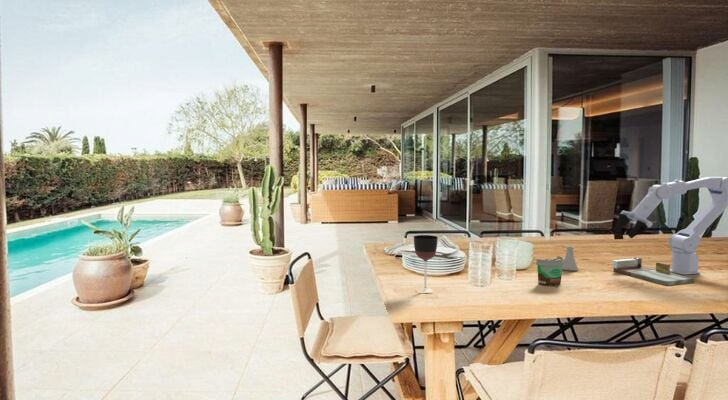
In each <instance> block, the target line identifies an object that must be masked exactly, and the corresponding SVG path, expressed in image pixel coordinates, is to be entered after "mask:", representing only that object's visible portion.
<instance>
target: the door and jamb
mask: <svg viewBox="0 0 728 400" xmlns="http://www.w3.org/2000/svg"><path fill="white" fill-rule="evenodd" d="M670 269H671V263H665V262H661V261H656V262H655V268H651V267H647V266H644V265H643V266H641V267H626V268H613V272H615V271H616V272H615V273H618V272H619V274H622V273H623V274H622V275H626V276H630V277H633V276H634V278H637V277H638V278H637V279H640V278H641V280H644V279H645V281H648V280H649V281H648V282H652V281H653V282H652V283H655V282H656V284H659V283H660V285H663V286H673V285H682V284H683V285H684V284H690V283H694V278H693V277H689V276H685V275H682V274H678V273H674V272H670Z"/></svg>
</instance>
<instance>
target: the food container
mask: <svg viewBox="0 0 728 400" xmlns="http://www.w3.org/2000/svg"><path fill="white" fill-rule="evenodd" d="M535 264H536V265H537V281H538V282H537V283H538V285H539V286H544V287H559V286H561V282H562V275H563V269H562V267H563V265H564V264H565V263H564V257H562V256H559V255H557V257H556V258H547V259H539V258H537V260H536V261H535Z"/></svg>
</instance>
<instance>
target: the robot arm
mask: <svg viewBox="0 0 728 400" xmlns="http://www.w3.org/2000/svg"><path fill="white" fill-rule="evenodd" d="M701 188H705V189H707V191H708V193H709V195H710V197H711V199H712V200H711V202H710V203H709V204H708V205H706V207H705V208H704V209H703V210H702V211H701V212H700V213H699V214H698V215H697V217H696V218H694V220H692V221H691V223H690V224H689V225H688V226H687V227H686V228H684V229H681V230H678V231H677V232H676V233H675V234H673V235H671V236H670V237H669V238H668V245H669V246H670V247H671V264H670V273H673V274H677V275H681V276H685V275H695V274H701V272H700V271H699V256H698V254H697V253H696V252H695V251H696V250H697V249H698V246H699V244H700V243H701V242H702V238H701V236H702V234H703V233H704V232H705V231H706V230H707V229H708V228H709V227H710V226H711V225H712V224H713V223H714V222H715V221H716V220H717V218H718V217H719V216H721V214H723V212H724V211H725V210H726V209H727V208H728V176H717V175H716V176H715V175H714V176H706V177H702V178H697V179H695V180H694V179H693V180H690V181H683V180H680V179H674V180H673V181H672V182H662V184H653V185H652V186H649V187H648V190H647V194H646V195H645V196H644V197H643V199H642V200H641V201H640V202H639V203H637V206H636V207H635V208H634V209H633V210H632V211H631V210H630V211H627V210H622V211H621V212H620V213H618V218H617V222H616V224H615V226H614V228H613V229H614V231H616V232H617V233H618V232H620V231H621V230H622V228H624V227H625V226H626V225H627V224H629V223H631V220H632V221H635V224H634V226H633V228H632V229H631V230H630V232H629V233H628V235H627V236H628V237H629V238H630V239H633V238H635V237H637V236H638V235H640V234H641V233H644V232H646V231H648V230H649V228H651V227H652V226H653V222H652V221H651V220H648V217H649V216H650V215H651V213H653V211H655V210H656V208H657V207H658V206H659V205H660V203H662V201H664V200H668V199H669V198H670V197H674V196H676V197H677V196H679V195H685V194H687V191H689V190H696V189H701Z"/></svg>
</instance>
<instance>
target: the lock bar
mask: <svg viewBox="0 0 728 400" xmlns="http://www.w3.org/2000/svg"><path fill="white" fill-rule="evenodd" d="M642 260H643V259H642V258H641V257H633V258H627V259H626V258H624V259H613V260H612V268H613V269H614V268H626V267H641V266H642V264H643V263H642V262H643V261H642Z"/></svg>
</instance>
